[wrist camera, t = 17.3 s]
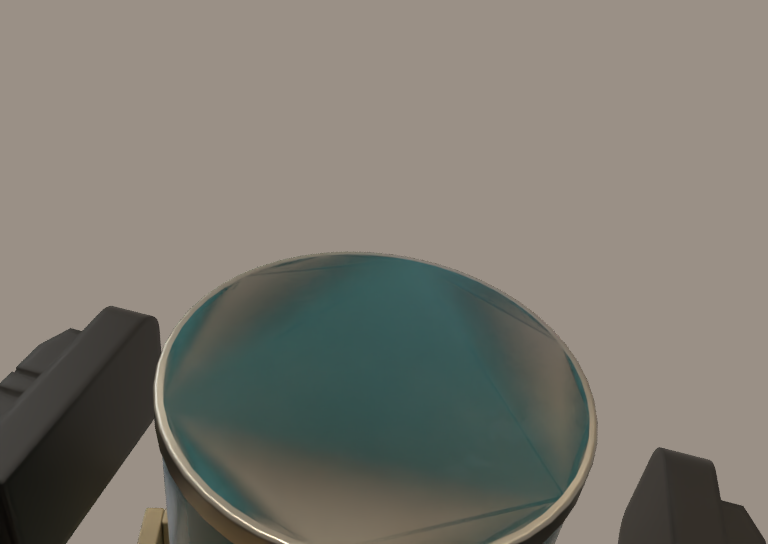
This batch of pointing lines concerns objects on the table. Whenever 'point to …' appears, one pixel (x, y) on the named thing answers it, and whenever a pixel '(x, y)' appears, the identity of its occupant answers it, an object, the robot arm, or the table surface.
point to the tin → (369, 410)
